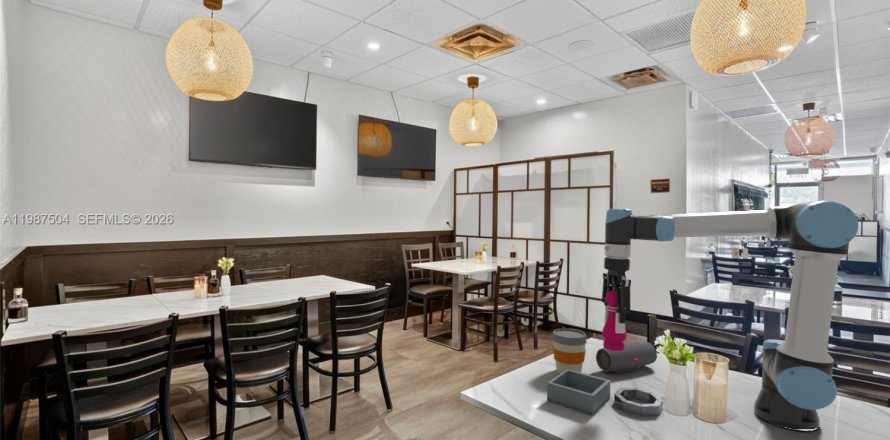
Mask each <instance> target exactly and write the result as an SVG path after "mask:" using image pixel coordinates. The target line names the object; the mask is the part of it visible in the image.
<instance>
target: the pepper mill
mask: <svg viewBox="0 0 890 440" xmlns="http://www.w3.org/2000/svg"><path fill="white" fill-rule="evenodd" d="M617 288H620V287H617ZM606 302H607V303H608V305H607V310H608V319H607V321H606V323H605V322H604V326H603V327H602V330H601V331H602V334H601V335H602V338H604V340H603V348H606V349H608V350H612V351H623V350H624V347H625V344H626V343H624V341H625V340H627V329H626V328H625V333H615V327H616V311H618V309H617V301H616V292H615V290H614V289H613V290H612V291H609V292H608V293H607V294H606Z"/></svg>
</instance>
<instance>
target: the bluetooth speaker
mask: <svg viewBox="0 0 890 440" xmlns="http://www.w3.org/2000/svg"><path fill="white" fill-rule="evenodd" d="M624 344H625V347H624V350H623V351H612V350H608V349H606V348H604V347H601V348H599V349H597V351H596V354H595V361H596V365H597V366H598V368H599V369H600V370H602V371H603V372H616V373H620V374H621V373H627V372H632V371H633V372H634V371H637V370H639V369H640V368H641V367H645V366H649V365H651V364H654V363H656V361H657V359H658V354H657V350H656V348H655V347H654V345H653V344H652V343H650V342H648V341H639V342H638V341H637V342H627V343H624Z"/></svg>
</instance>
